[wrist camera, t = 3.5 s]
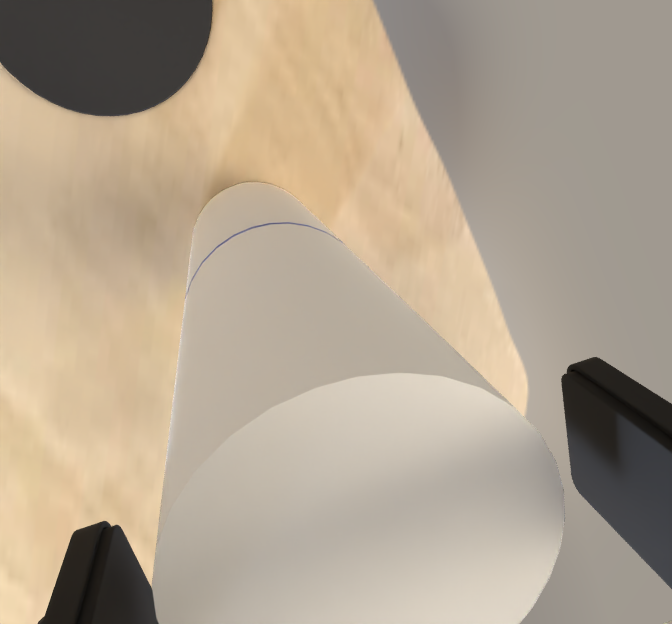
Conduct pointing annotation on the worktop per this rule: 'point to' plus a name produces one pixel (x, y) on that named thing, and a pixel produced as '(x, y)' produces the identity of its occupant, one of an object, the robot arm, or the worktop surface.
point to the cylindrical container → (336, 446)
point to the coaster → (104, 50)
